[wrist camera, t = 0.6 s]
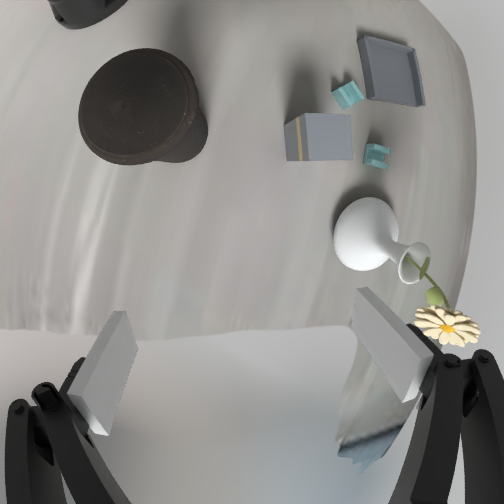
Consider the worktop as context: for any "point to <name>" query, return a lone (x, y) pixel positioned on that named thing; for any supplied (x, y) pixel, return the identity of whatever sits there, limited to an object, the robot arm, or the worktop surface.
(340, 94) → the clip
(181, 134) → the container
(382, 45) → the grey square tray
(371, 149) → the clip
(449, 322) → the flower in vase
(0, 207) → the worktop surface
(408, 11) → the worktop surface
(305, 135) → the grey box with stripe
